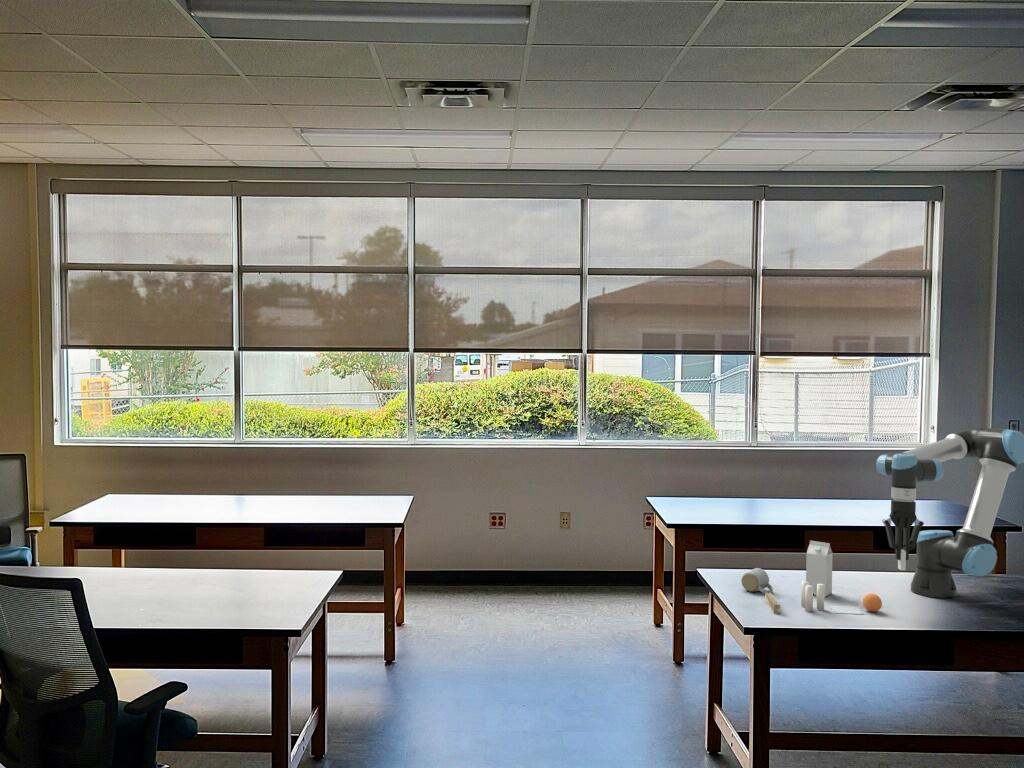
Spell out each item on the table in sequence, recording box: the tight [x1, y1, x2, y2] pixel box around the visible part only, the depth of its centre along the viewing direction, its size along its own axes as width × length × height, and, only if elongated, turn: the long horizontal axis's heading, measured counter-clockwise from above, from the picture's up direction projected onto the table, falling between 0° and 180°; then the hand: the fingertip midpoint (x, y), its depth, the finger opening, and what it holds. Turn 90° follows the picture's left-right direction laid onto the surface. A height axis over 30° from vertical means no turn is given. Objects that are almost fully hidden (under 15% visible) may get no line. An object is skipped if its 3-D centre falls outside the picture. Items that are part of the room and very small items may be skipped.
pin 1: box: [800, 580, 809, 608], centre depth 274 cm, size 2×2×8 cm
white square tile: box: [828, 605, 864, 615], centre depth 270 cm, size 9×8×1 cm
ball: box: [862, 593, 883, 613], centre depth 269 cm, size 6×6×6 cm
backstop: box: [764, 593, 781, 615], centre depth 272 cm, size 2×14×3 cm, turn 174°
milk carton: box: [805, 540, 834, 598], centre depth 290 cm, size 7×7×19 cm
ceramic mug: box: [741, 567, 774, 594], centre depth 292 cm, size 11×8×8 cm
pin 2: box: [804, 585, 814, 613], centre depth 269 cm, size 2×2×8 cm
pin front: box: [816, 584, 825, 611], centre depth 271 cm, size 2×2×8 cm
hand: (901, 569), depth 268 cm, fingers closed
